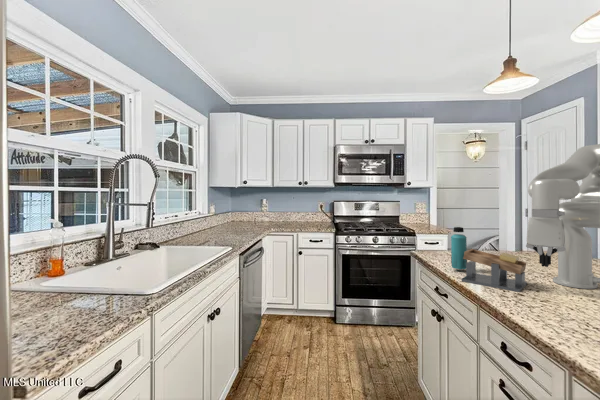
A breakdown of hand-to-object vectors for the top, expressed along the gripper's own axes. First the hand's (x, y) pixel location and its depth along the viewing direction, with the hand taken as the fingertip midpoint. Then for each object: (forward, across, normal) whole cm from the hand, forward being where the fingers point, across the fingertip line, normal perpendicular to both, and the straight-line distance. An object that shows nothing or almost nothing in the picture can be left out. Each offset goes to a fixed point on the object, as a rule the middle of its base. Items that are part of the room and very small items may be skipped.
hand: (545, 266), depth 104 cm
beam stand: (+9, +16, 0) cm, 18 cm away
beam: (+2, +16, 0) cm, 16 cm away
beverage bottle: (+10, +32, -10) cm, 35 cm away
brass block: (+1, +11, 0) cm, 11 cm away
